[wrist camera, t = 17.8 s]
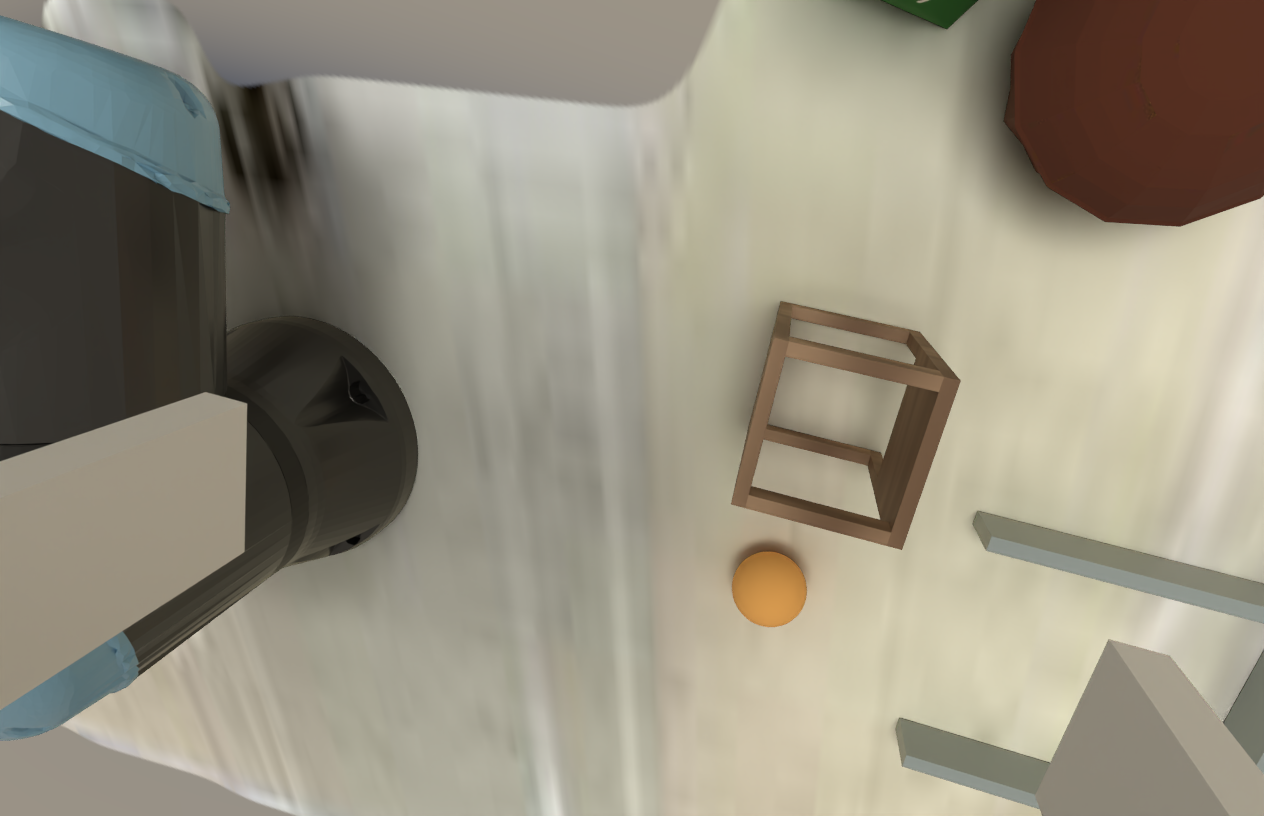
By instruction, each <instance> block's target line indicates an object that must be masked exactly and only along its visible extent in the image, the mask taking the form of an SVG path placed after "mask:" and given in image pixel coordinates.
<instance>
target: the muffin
mask: <svg viewBox="0 0 1264 816" xmlns="http://www.w3.org/2000/svg"><path fill="white" fill-rule="evenodd" d="M1004 122H1005V124H1006V125H1007V126H1008V127H1009V129H1010V130H1011V131H1012V132H1013V133H1014V135H1015V136H1016V137H1017V138H1018V140H1019V141H1020V142H1021V143H1022V145H1023V146H1024V148H1025V150H1026V152H1027V154H1028V156H1029V158H1030V160H1031V162H1032V164H1033V167H1034V169H1035V171H1036V172H1037V173H1039V174H1040V175H1041V177H1042V178H1043V180H1044V182H1045V184H1046V186H1047V187H1048V188H1050V189H1051V190H1053V191H1055V192H1056V193H1058V194H1060V195H1061V196H1063V197H1065V198H1066V199H1068V200H1070V201H1071V202H1073V203H1075V204H1076V205H1078V206H1080V207H1081V208H1083V209H1085V210H1086V211H1088V212H1090V213H1091V214H1093V215H1094V216H1096V217H1098V218H1099V219H1101V220H1103V221H1104V222H1115V223H1131V224H1147V225H1164V226H1183V225H1186V224H1189V223H1191V222H1194V221H1197V220H1200V219H1203V218H1206V217H1209V216H1211V215H1214V214H1217V213H1220V212H1223V211H1226V210H1229V209H1231V208H1234V207H1237V206H1240V205H1243V204H1246V203H1248V202H1251V201H1254V200H1257V199H1260V198H1261V197H1263V196H1264V0H1036V2H1035V5H1034V7H1033V9H1032V12H1031V14H1030V16H1029V19H1028V21H1027V23H1026V26H1025V28H1024V30H1023V33H1022V35H1021V37H1020V38H1019V40H1018V42H1017V44H1016V46H1015V48H1014V50H1013V52H1012V54H1011V82H1010V92H1009V97H1008V102H1007V107H1006V112H1005V116H1004Z"/></svg>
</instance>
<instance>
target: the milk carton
mask: <svg viewBox="0 0 1264 816" xmlns="http://www.w3.org/2000/svg"><path fill="white" fill-rule="evenodd" d="M882 1H884V2H886V3H888V4H891V5H893V6H895V7H898V8H900V9H902V10H904V11H907V12H909V13H911V14H914V15H916V16H918V17H920V18H923V19H925V20H927V21H930V22H932V23H934V24H936V25H939V26H941V27H943V28H945V29H948V28H949V27H950V26H951V25H952V24H953V23H954V22H955V21H956V20H957V19H958V18H959V17H961V16H962V15H963V14H964V13H965V12H966V11H967V10H968V9H969V8H970V7H971V6H972V5H974V4H975V3H976V2H977V1H978V0H882Z"/></svg>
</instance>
